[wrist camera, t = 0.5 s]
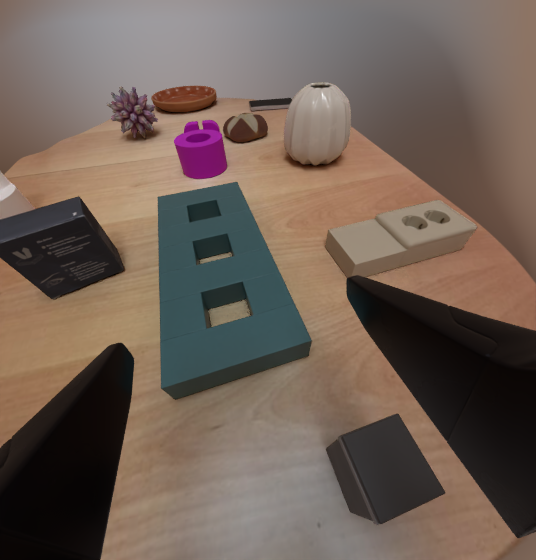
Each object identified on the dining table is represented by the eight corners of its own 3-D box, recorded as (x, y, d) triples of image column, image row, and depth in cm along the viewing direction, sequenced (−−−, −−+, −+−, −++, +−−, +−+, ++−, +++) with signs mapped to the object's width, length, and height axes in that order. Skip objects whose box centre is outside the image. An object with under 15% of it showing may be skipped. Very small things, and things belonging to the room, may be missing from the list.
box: (118, 249, 38) (80, 194, 30) (125, 271, 34) (84, 214, 27) (51, 275, 35) (-10, 219, 27) (52, 301, 31) (-17, 246, 24)
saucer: (229, 99, 92) (228, 87, 89) (189, 118, 79) (186, 104, 76) (184, 95, 100) (182, 83, 97) (141, 111, 87) (137, 98, 84)
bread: (273, 136, 66) (273, 114, 62) (236, 146, 62) (233, 124, 58) (253, 125, 72) (252, 105, 68) (219, 134, 68) (215, 113, 65)
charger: (399, 491, 18) (447, 494, 13) (350, 513, 17) (380, 526, 12) (368, 430, 21) (398, 411, 15) (324, 448, 20) (340, 435, 15)
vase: (292, 144, 61) (294, 76, 51) (348, 149, 58) (362, 77, 48) (275, 168, 53) (274, 93, 43) (339, 175, 50) (354, 96, 40)
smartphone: (295, 103, 81) (250, 107, 80) (294, 108, 82) (251, 111, 81) (290, 97, 86) (249, 100, 85) (290, 101, 87) (249, 104, 86)
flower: (169, 136, 73) (148, 142, 64) (133, 133, 75) (107, 139, 65) (160, 88, 66) (134, 87, 57) (120, 86, 68) (89, 85, 58)
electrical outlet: (329, 224, 33) (439, 198, 36) (325, 246, 36) (426, 220, 39) (357, 259, 28) (480, 225, 31) (349, 281, 31) (462, 249, 34)
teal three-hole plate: (308, 355, 25) (312, 340, 22) (174, 399, 23) (161, 388, 20) (239, 199, 46) (237, 181, 43) (165, 214, 43) (157, 196, 41)
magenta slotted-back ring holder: (228, 175, 52) (222, 144, 47) (181, 180, 51) (171, 149, 46) (225, 146, 62) (220, 118, 57) (187, 151, 62) (179, 123, 57)
